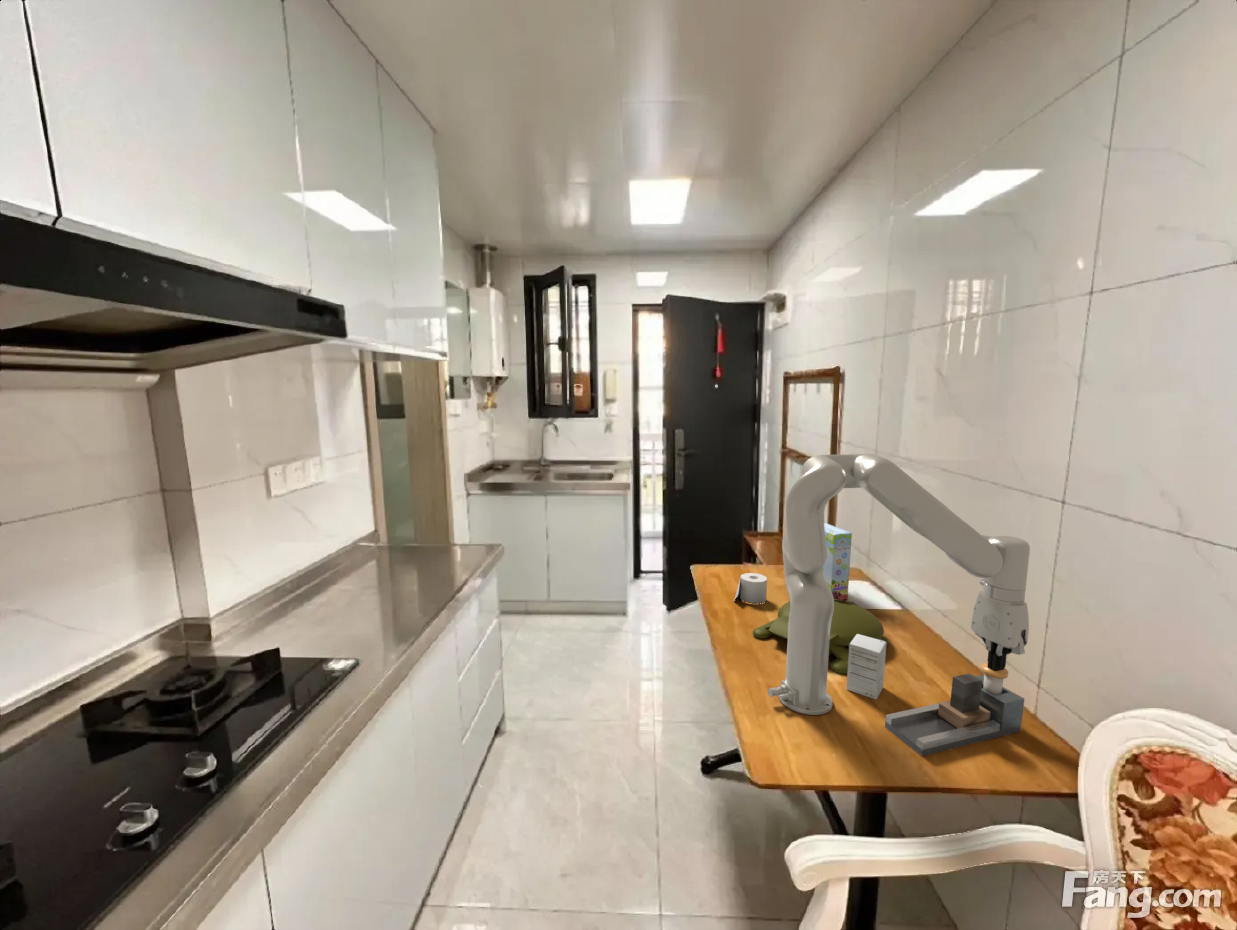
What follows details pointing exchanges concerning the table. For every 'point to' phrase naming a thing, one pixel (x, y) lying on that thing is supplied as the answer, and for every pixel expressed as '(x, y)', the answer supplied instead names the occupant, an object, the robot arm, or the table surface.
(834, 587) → the snack box
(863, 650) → the supplement box
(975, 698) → the block
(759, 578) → the toilet tissue
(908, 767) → the table surface
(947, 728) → the rail base
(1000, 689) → the button
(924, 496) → the robot arm
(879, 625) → the green toy turtle
